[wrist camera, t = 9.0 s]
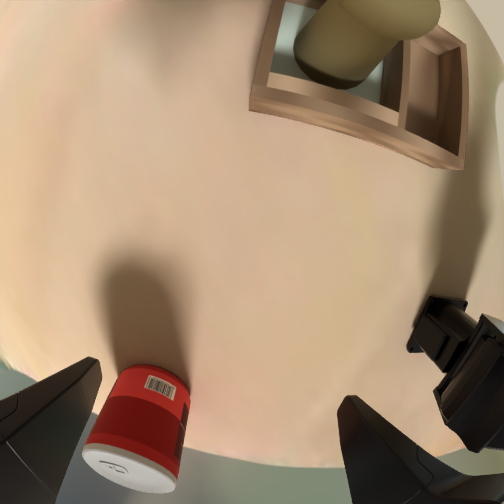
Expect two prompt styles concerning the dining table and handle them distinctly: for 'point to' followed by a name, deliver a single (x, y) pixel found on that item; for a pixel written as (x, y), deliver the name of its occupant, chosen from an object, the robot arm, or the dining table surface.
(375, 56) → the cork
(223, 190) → the dining table surface
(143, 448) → the canned food
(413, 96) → the socket box
